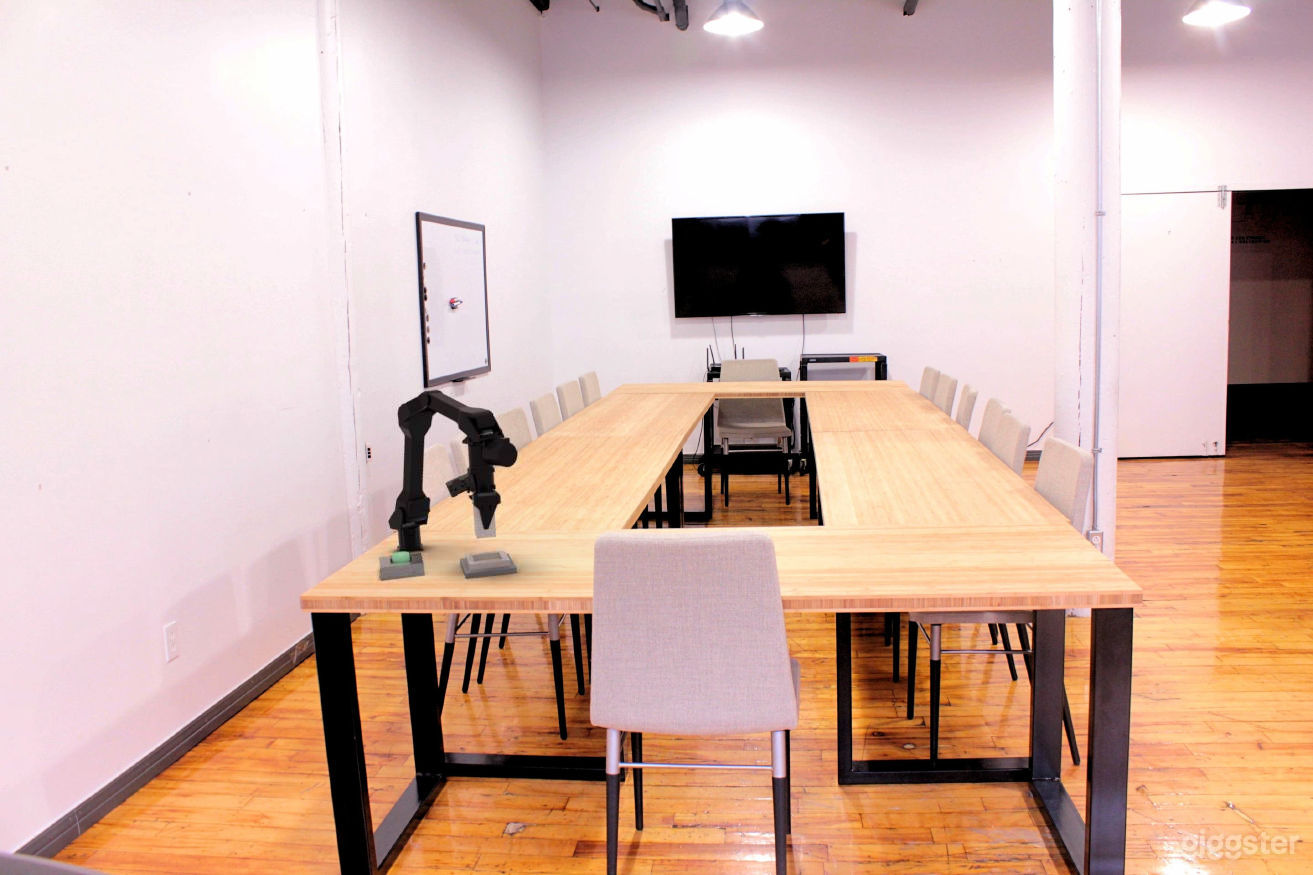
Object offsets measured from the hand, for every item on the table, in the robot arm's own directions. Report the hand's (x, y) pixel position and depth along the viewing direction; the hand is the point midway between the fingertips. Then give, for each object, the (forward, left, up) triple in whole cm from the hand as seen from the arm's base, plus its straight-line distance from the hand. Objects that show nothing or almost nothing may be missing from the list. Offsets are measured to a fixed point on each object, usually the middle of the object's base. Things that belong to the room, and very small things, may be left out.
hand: (484, 527), depth 238 cm
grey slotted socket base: (0, 0, -10) cm, 10 cm away
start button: (-5, -20, -10) cm, 23 cm away
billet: (0, 0, -2) cm, 2 cm away
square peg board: (-5, -20, -10) cm, 23 cm away
